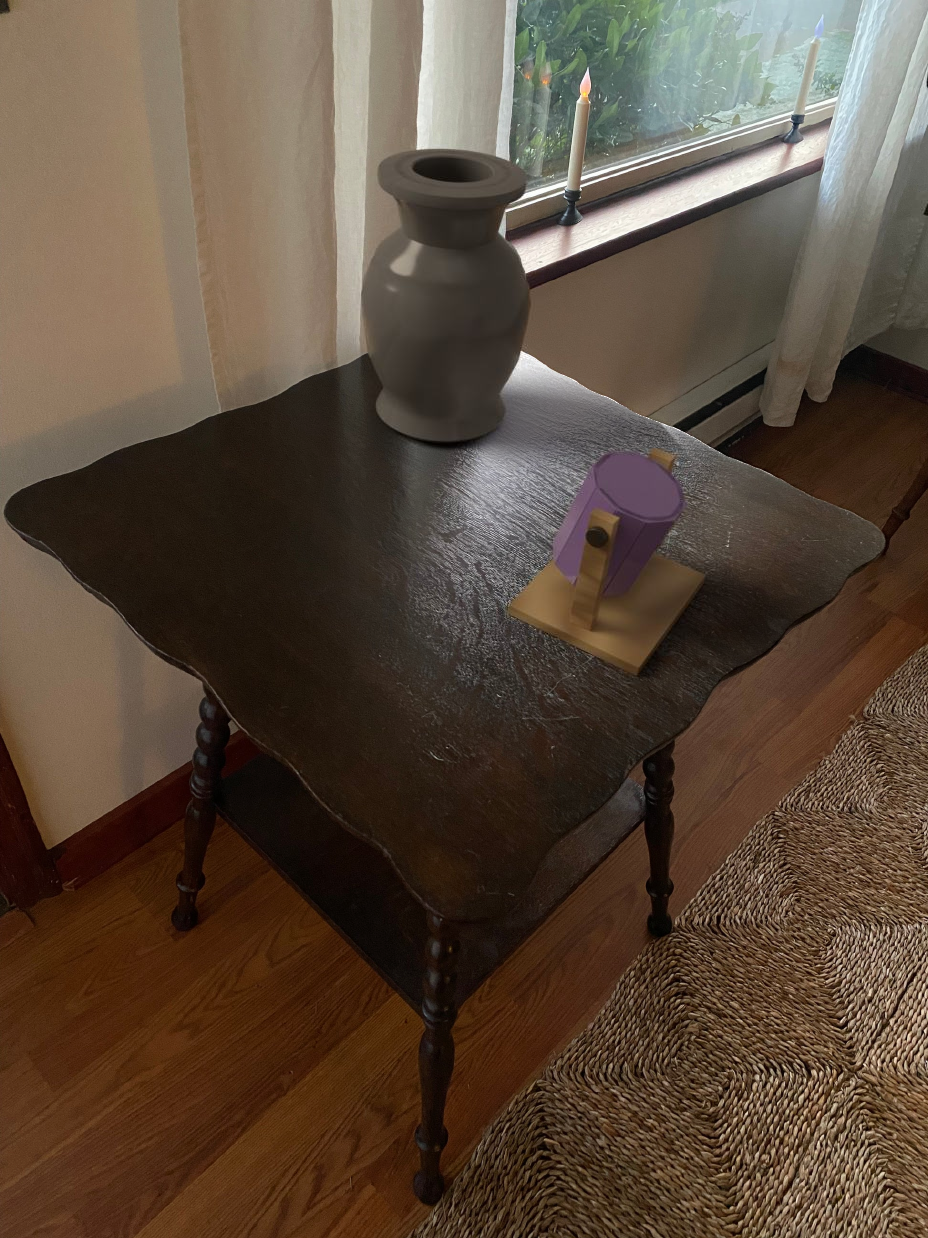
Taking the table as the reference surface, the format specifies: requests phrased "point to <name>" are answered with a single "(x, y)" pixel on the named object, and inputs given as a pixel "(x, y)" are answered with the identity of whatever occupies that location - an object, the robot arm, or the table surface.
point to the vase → (446, 294)
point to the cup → (621, 516)
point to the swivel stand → (610, 598)
